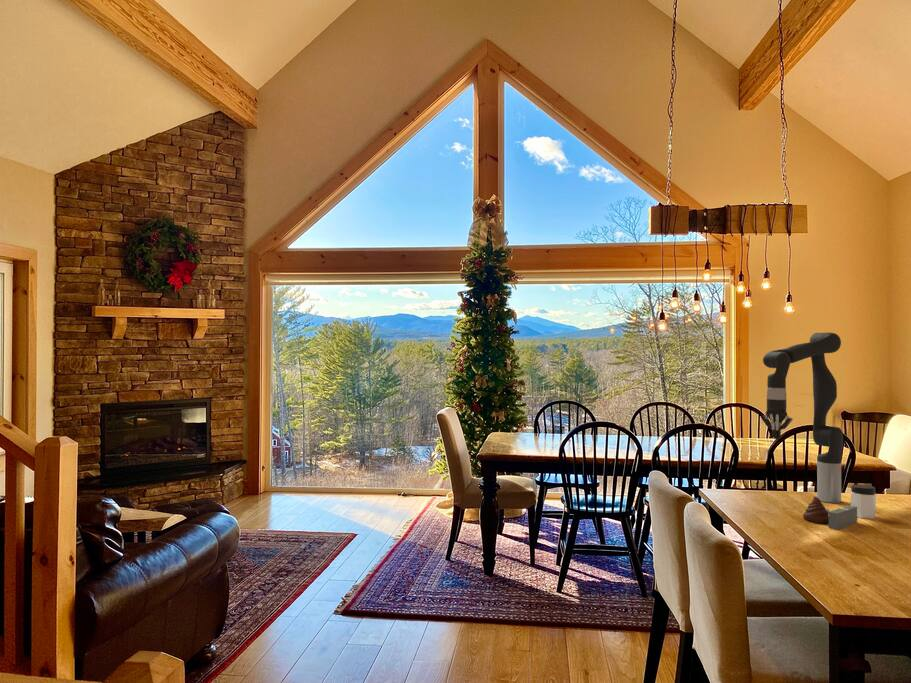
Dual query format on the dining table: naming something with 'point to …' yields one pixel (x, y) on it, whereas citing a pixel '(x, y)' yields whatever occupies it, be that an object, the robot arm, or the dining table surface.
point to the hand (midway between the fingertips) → (776, 438)
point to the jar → (864, 500)
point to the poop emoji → (817, 512)
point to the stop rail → (842, 517)
